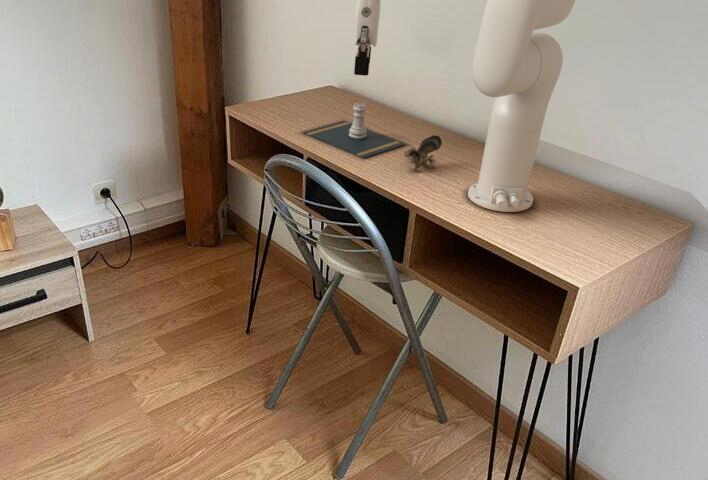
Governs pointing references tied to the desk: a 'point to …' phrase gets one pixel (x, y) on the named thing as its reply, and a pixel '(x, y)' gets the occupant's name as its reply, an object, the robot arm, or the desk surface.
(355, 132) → the rook chess piece
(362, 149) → the placemat
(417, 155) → the brown toy squirrel
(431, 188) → the desk surface
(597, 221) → the desk surface
